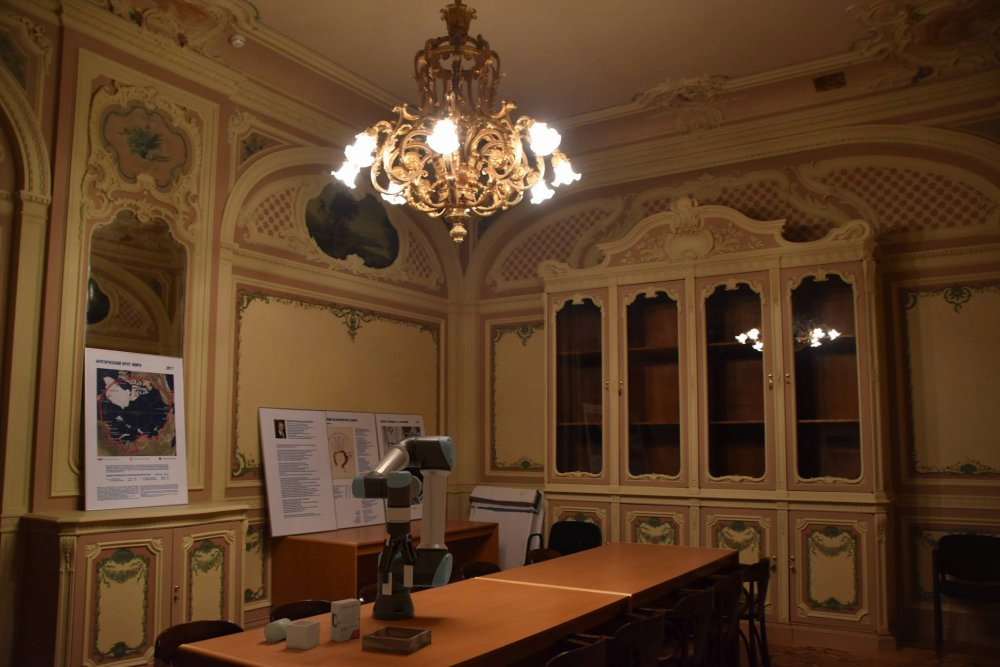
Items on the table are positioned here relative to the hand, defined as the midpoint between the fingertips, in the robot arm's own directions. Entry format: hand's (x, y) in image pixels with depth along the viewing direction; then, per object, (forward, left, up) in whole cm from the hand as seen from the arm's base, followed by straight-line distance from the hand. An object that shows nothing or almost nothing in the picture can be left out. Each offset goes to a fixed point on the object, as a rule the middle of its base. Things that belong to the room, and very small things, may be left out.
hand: (397, 590), depth 258 cm
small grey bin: (+11, -27, -17) cm, 34 cm away
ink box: (-2, -20, -17) cm, 26 cm away
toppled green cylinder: (+7, -36, -15) cm, 40 cm away
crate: (0, 0, -17) cm, 17 cm away
